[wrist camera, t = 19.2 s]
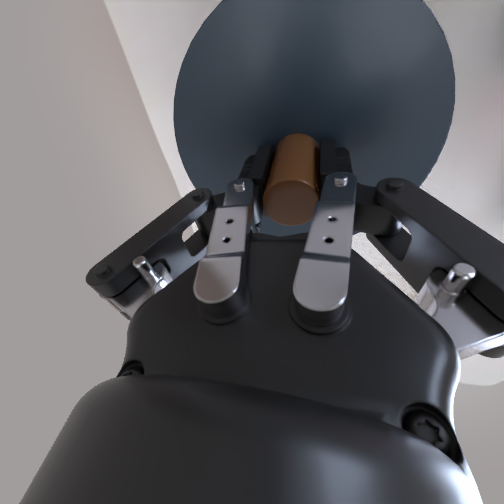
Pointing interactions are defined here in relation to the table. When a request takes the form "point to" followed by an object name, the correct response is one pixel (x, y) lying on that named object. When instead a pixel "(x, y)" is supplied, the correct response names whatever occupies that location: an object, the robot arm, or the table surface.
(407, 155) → the pan lid
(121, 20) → the table surface
